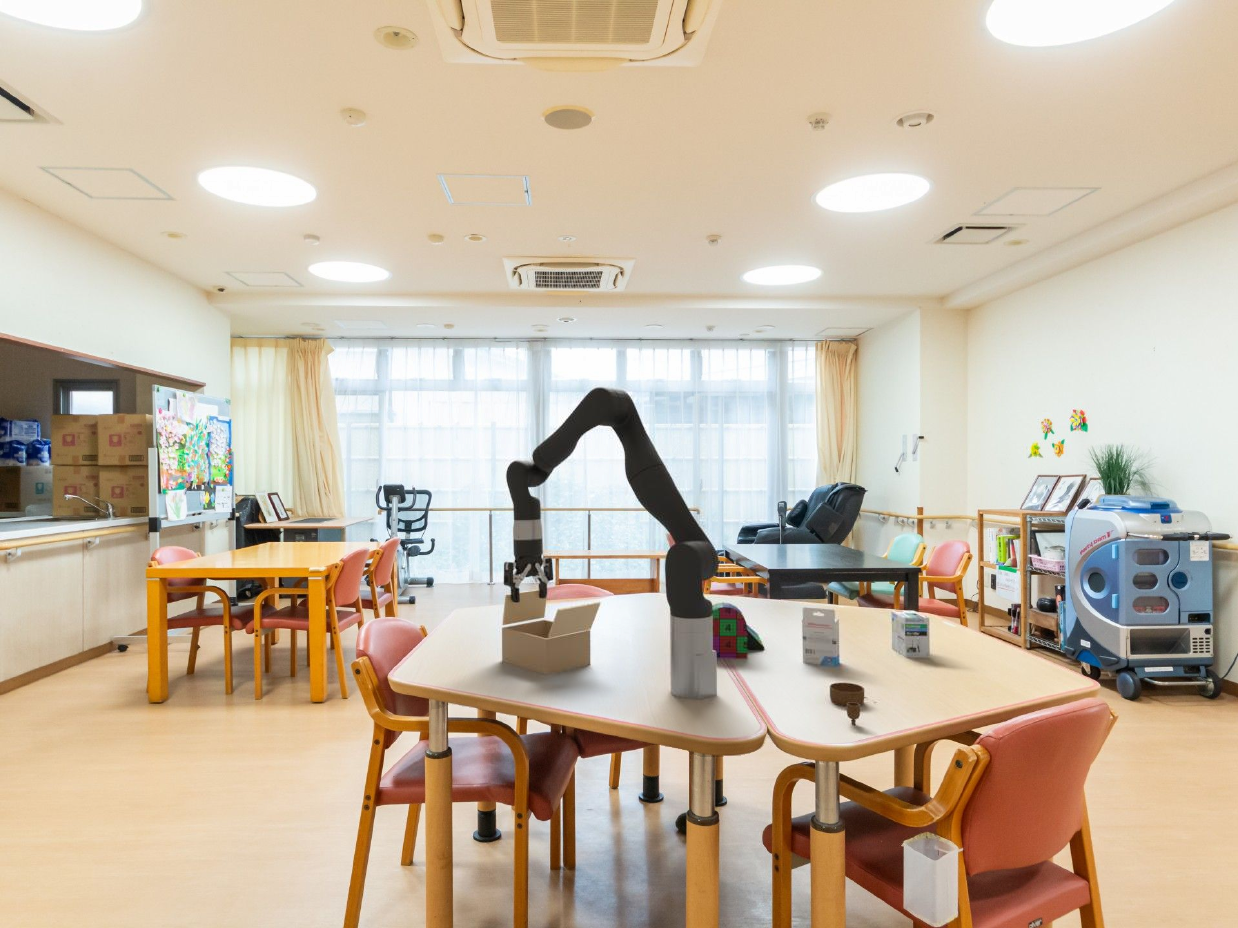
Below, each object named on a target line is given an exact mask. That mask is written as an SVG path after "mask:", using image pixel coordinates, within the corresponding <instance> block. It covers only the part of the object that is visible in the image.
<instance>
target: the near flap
mask: <svg viewBox="0 0 1238 928" xmlns="http://www.w3.org/2000/svg"><path fill="white" fill-rule="evenodd" d="M600 606H601V602H600V601H596V602H590V603H585V604H578V605H573V606H567V607H561V608H557V610H556V614H555V616H554V619H553V620H552V621H553V624H552V627H551V630H550V632H549V635H548V637H549V638H552V637H557V636H561V635H566V634H571V633H576V632H580V631H585V630H590V631H591V629H592V627H593V624H594V621H595V618H596V617H597V613H598V611H599V609H600Z"/></svg>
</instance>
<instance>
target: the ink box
mask: <svg viewBox="0 0 1238 928" xmlns="http://www.w3.org/2000/svg"><path fill="white" fill-rule="evenodd" d="M816 613H820V614H823V615H819V614H818V615H817V614H816ZM839 620H840V619H839V618H836V611H835V609H829V608H818V607H806V606H805V607H803V608H802V620H801V623H802V625H801V628H802V629H801V630H802V663H804V664H805V663H806V664H811V665H812V664H814V665H820V666H830V667H838V665H839V664H840V621H839Z"/></svg>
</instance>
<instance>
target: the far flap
mask: <svg viewBox="0 0 1238 928" xmlns="http://www.w3.org/2000/svg"><path fill="white" fill-rule="evenodd" d="M547 591H548V588H547ZM519 593H520V602H518V603H515V602H513V601H512V600H511V593H505V596H504V605H503V615H502V625H503V626H505V625H506V626H507V625H511V624H519V623H523V622H528V621H532V620H539V619H544V618H545V615H546V606H547V599H548V597H547V596H548V595H547V596H546V598H539V588H538V589H532V590H526V591H519Z"/></svg>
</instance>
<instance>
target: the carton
mask: <svg viewBox="0 0 1238 928" xmlns="http://www.w3.org/2000/svg"><path fill="white" fill-rule="evenodd" d="M553 621H554V620H549V619H541V620H536V621H531V622H526V623H520V624H519V623H518V624H515V625H509V626H504V627H501V657H502V658H501V661H502V662H505V661H507V662H506V663H508V664H511V663H512V665H515V666H518V667H521V668H524V669H528V670H531V671H534V672H538V673H540V674H544V675H550V674H555V673H560V672H563V671H568V670H573V669H577V668H581V667H584V666H585V667H586V666H590V665H591V629H590V630H585V631H580V632H576V633H571V634H566V635H561V636H557V637H552V638H549V637H548V635H549V632H550V630H551V627H552V624H553Z"/></svg>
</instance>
